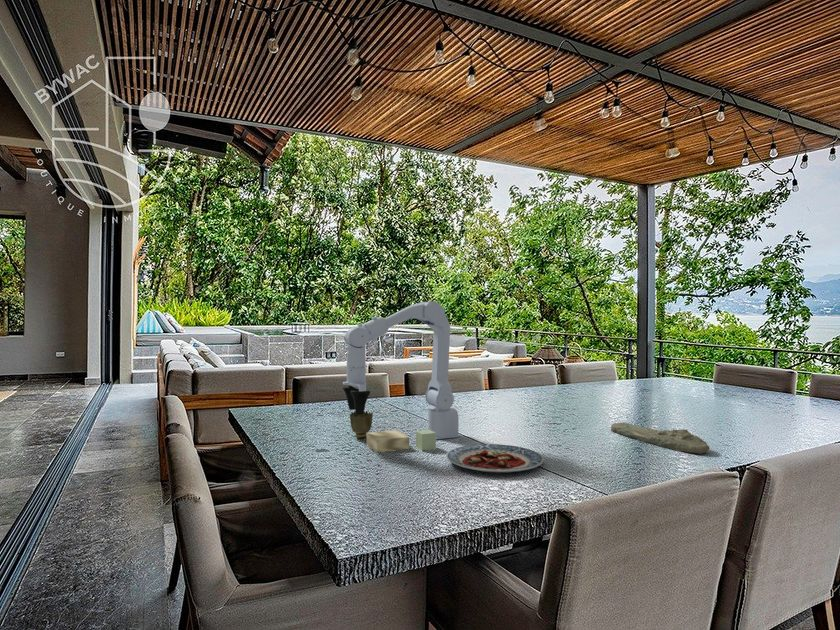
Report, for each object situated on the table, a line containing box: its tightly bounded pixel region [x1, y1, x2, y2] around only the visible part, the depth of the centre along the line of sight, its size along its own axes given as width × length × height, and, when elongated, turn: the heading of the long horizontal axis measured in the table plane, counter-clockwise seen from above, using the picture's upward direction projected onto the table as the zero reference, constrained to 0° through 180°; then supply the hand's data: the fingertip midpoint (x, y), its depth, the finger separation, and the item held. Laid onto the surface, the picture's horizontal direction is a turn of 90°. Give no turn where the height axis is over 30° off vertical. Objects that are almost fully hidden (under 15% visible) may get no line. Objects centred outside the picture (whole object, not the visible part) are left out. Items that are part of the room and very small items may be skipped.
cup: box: [349, 411, 374, 440], centre depth 170 cm, size 8×7×8 cm
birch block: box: [366, 429, 410, 454], centre depth 159 cm, size 10×10×4 cm
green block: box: [415, 429, 437, 451], centre depth 157 cm, size 4×4×5 cm
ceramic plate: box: [446, 443, 545, 474], centre depth 142 cm, size 26×26×3 cm
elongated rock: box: [610, 422, 710, 455], centre depth 166 cm, size 35×5×10 cm
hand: (356, 411), depth 161 cm, fingers open, 7 cm apart
